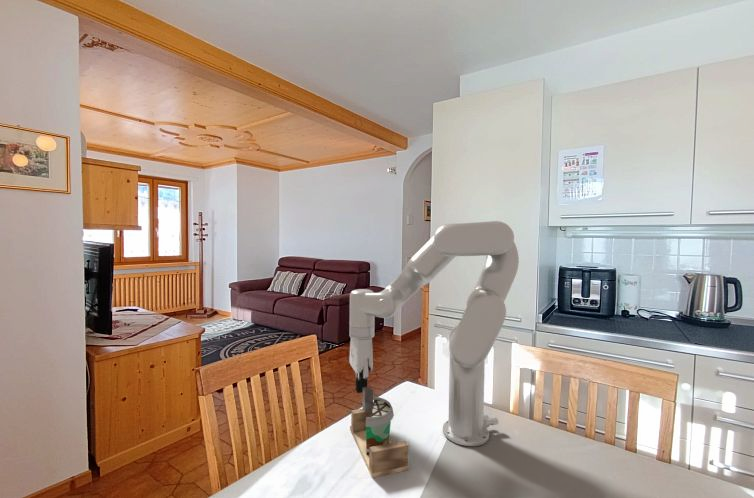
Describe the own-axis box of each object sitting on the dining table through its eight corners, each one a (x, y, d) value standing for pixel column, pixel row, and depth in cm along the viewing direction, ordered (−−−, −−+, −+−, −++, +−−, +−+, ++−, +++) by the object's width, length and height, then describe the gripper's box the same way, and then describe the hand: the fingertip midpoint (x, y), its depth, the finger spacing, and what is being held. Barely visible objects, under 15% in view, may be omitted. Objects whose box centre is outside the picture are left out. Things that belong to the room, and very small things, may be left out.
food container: (390, 461, 84) (390, 420, 83) (365, 458, 85) (365, 418, 84) (395, 433, 96) (396, 397, 96) (373, 431, 97) (374, 395, 97)
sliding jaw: (381, 422, 101) (381, 385, 101) (384, 426, 99) (384, 388, 98) (351, 427, 98) (351, 388, 98) (353, 431, 96) (353, 392, 96)
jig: (379, 424, 102) (380, 404, 102) (408, 470, 82) (408, 445, 82) (350, 429, 99) (350, 408, 99) (371, 477, 79) (372, 452, 79)
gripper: (344, 325, 110) (343, 383, 111) (356, 339, 96) (355, 404, 96) (366, 324, 112) (366, 380, 113) (381, 336, 98) (381, 401, 99)
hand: (361, 391), depth 105 cm, fingers closed
